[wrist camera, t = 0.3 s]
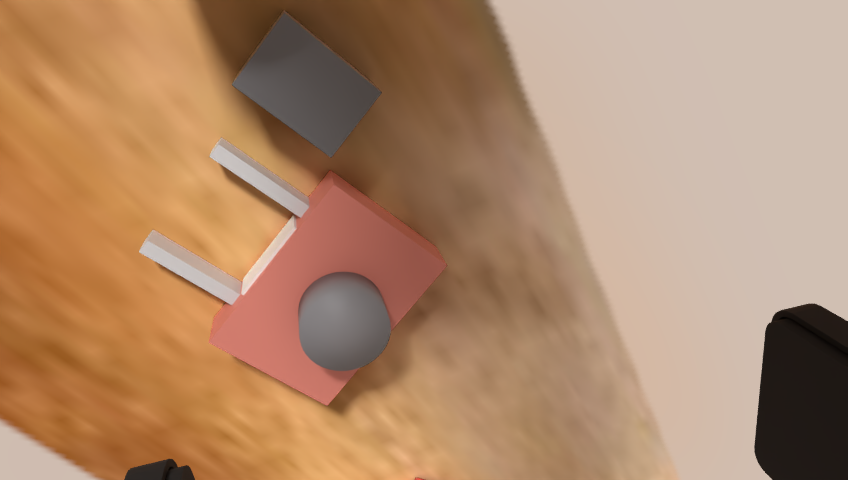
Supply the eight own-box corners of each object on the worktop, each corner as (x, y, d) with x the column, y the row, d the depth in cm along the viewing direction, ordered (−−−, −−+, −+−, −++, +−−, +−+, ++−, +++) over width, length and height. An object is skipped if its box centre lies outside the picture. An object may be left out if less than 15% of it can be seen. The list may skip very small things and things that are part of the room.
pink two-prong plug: (124, 267, 43) (99, 313, 37) (243, 107, 40) (237, 127, 34) (324, 378, 49) (329, 432, 43) (435, 246, 47) (458, 284, 41)
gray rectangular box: (237, 73, 40) (231, 84, 35) (283, 9, 39) (284, 12, 34) (325, 139, 42) (331, 157, 38) (370, 81, 41) (382, 92, 37)
